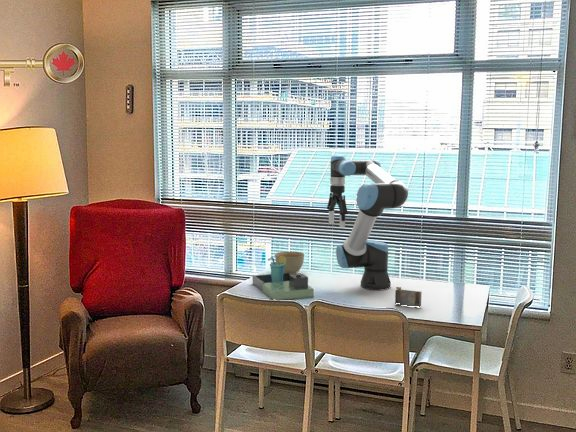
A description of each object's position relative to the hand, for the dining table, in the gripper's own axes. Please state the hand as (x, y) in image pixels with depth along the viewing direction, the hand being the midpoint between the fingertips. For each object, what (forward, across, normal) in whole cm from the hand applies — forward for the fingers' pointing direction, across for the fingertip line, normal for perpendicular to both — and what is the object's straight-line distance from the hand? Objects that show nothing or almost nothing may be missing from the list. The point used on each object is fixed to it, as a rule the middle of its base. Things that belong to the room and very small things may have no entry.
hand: (336, 225), depth 340 cm
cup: (+28, +5, -36) cm, 46 cm away
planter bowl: (+29, -18, -20) cm, 39 cm away
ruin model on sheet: (+29, +59, +9) cm, 66 cm away
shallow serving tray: (+29, +14, -35) cm, 48 cm away
